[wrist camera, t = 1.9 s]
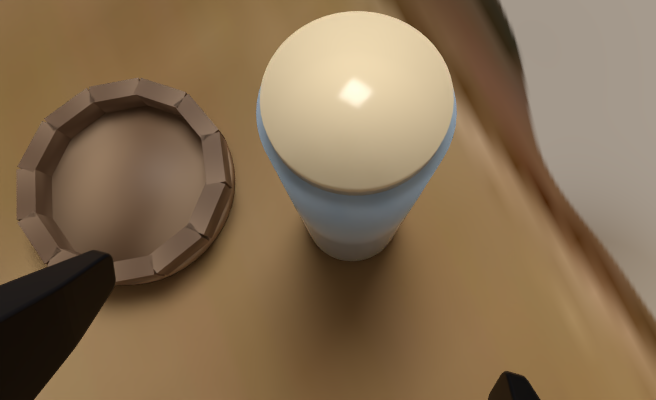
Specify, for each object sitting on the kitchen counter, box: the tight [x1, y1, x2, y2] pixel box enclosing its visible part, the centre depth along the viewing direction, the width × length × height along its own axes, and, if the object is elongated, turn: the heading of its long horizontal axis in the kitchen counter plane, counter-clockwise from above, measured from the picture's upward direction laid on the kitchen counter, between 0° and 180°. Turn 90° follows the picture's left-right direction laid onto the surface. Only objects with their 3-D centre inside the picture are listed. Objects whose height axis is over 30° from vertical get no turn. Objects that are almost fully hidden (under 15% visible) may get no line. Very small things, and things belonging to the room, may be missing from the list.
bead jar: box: [256, 11, 457, 261], centre depth 16 cm, size 5×5×13 cm
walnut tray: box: [17, 78, 235, 286], centre depth 22 cm, size 10×10×2 cm
